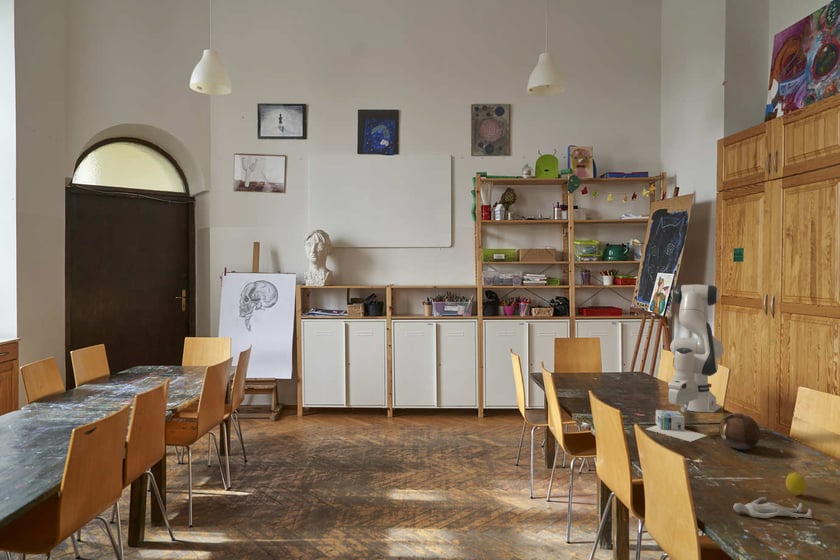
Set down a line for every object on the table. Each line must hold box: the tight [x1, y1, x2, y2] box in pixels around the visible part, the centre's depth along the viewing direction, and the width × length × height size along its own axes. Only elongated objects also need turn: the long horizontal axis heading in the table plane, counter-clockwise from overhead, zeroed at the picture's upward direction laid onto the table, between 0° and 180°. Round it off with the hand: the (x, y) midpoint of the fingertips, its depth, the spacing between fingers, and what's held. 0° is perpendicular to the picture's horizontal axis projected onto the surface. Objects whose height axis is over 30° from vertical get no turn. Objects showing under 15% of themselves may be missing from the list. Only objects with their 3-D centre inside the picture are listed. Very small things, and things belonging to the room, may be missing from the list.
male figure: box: [733, 496, 813, 519], centre depth 162 cm, size 10×4×22 cm
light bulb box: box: [654, 409, 685, 431], centre depth 249 cm, size 11×7×11 cm
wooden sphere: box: [718, 412, 761, 450], centre depth 220 cm, size 15×15×15 cm
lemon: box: [785, 472, 807, 497], centre depth 174 cm, size 6×6×8 cm
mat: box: [645, 424, 708, 443], centre depth 242 cm, size 14×22×1 cm, turn 34°
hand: (684, 411), depth 245 cm, fingers closed
